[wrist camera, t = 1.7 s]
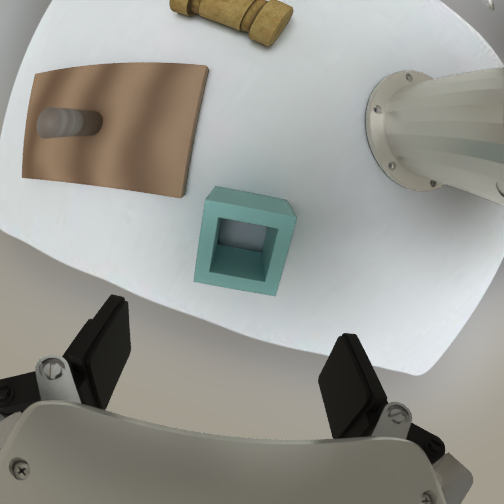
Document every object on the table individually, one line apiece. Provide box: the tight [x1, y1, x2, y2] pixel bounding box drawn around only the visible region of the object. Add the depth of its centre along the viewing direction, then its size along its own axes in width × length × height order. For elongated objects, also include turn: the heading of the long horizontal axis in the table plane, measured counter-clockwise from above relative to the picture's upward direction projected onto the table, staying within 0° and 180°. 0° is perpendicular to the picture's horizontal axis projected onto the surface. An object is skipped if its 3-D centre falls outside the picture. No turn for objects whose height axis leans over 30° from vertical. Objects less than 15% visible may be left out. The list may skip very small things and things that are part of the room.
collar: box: [194, 186, 297, 296], centre depth 23 cm, size 7×7×6 cm
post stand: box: [22, 63, 209, 198], centre depth 18 cm, size 20×12×8 cm, turn 78°
